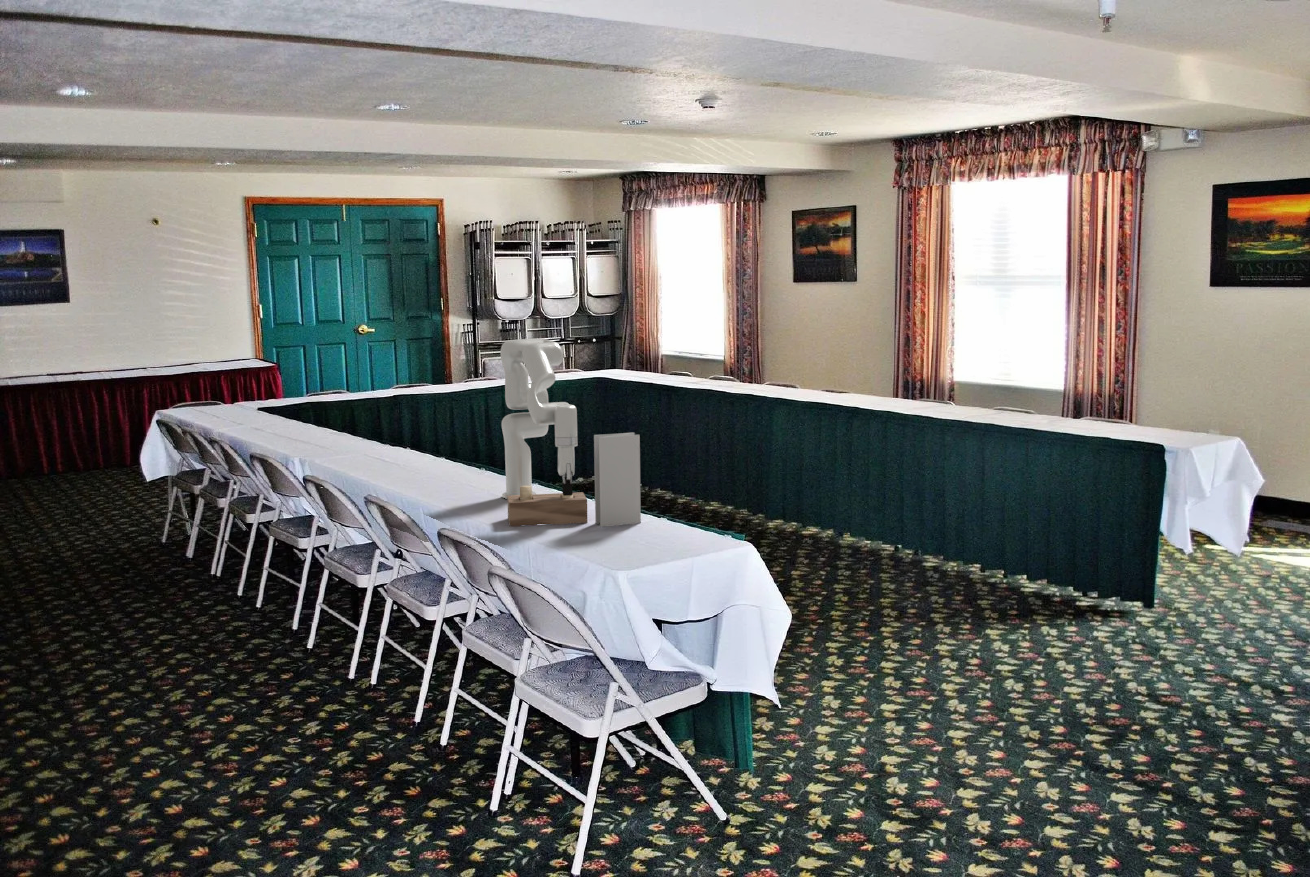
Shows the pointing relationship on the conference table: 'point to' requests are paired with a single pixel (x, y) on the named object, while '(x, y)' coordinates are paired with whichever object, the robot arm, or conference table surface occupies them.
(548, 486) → the conference table surface
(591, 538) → the conference table surface
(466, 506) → the conference table surface
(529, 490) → the peg
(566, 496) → the peg
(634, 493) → the brochure
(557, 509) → the walnut block
